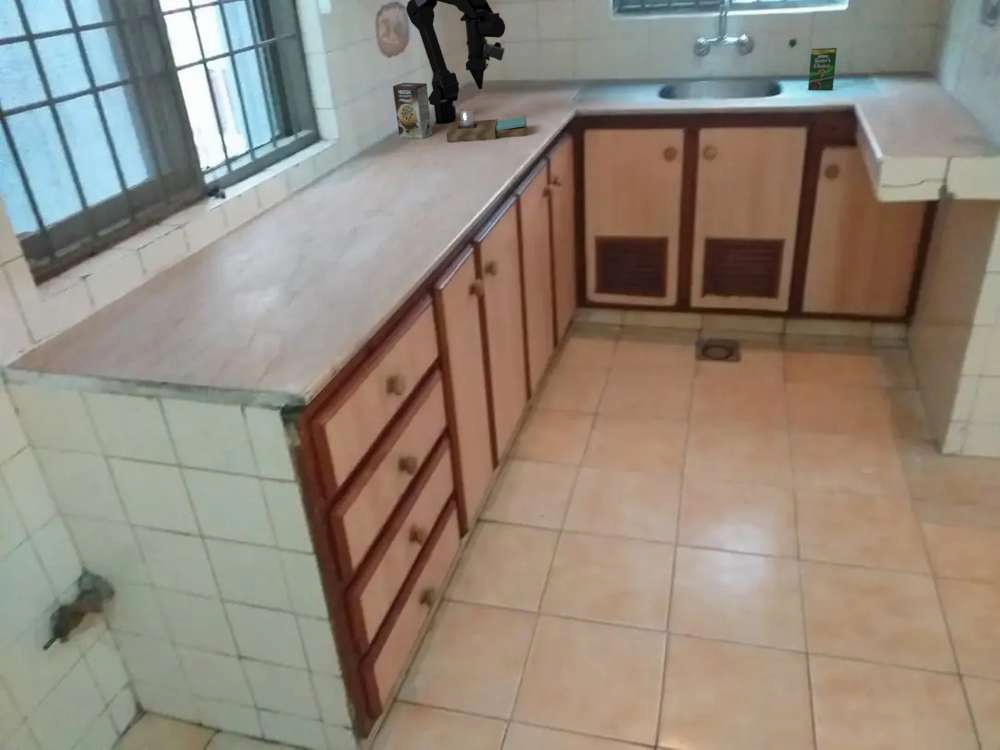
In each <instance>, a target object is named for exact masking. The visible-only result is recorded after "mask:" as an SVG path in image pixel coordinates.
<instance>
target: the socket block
mask: <svg viewBox="0 0 1000 750" xmlns="http://www.w3.org/2000/svg"><path fill="white" fill-rule="evenodd" d="M498 121H499V120H498V119H497V118H496V119H482V120H474V128H466V129H462V126H461V121H454V122H451V123H449V127H448V128H447V130H446V143H447V142H449V143H460V142H459V141H464V142H474V141H473V140H479V141H487V140H486V139H494V140H496V139H497V137H501V138H511V136H516V137H526V136H527V130H528V127H527V126H528V125H527V124H528V123H527V122H526V125H525V126H522V127H516V128H509V129H503V130H496V127H497V123H498ZM496 135H497V136H496Z"/></svg>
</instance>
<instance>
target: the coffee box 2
mask: <svg viewBox="0 0 1000 750" xmlns="http://www.w3.org/2000/svg"><path fill="white" fill-rule="evenodd" d="M836 58H837V47H824V48H821V47H820V48H811V50H810V59H809V60H810V62H809V73H808V75H809V76H808V83H807V84H808V87H807V90H808V91H824V90H825V91H833V89H834V83H835V82H834V81H835V70H836V60H837V59H836Z"/></svg>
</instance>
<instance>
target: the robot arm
mask: <svg viewBox="0 0 1000 750" xmlns="http://www.w3.org/2000/svg"><path fill="white" fill-rule="evenodd" d="M438 2H439V3H444V4H447V5H451V6H454V7H456V8H457V9H458V11H460V12H461V13H462V14H463V15H462V16H461V17H460V19H459V20H460V22H465V32H466V46H467V53H468V54H467V61H466V62H465V70H466V71H469V72H470V75H471V76H472V78H473V80H474V82H475V84H476V87H477V88H478V90H482V89H483V85H484V76H485V70H487V68H488V66H489V63H487V62H489V61H490V60H491V58H493V59H496V60H497V61H502V60H503V57H504V53H505V48H504V47H502V44H501V42H500V41H496V42H494V44H493V43H492V44H490V43H488V39H487V38H501V37H503V35H504V34H505V32H506V23H505V22H504V20H503V18H502V17H500V12H493V10H492V7H491V6H490V5H489V3H488V1H487V0H409V1H408V2H407V5H406V9H405V10H406V14H407V16H408V18H409V20H410V22H411V24H412V25H413V26H414V27H415V28H416V29H417V30H418V33H419V34H420V37H421V40H422V41H421V42H422V44H423V47H424V50H425V53H426V56H427V60H428V62H429V66H430V70H431V71H432V79H431V87H432V91H431V93H430V95H428V102H429V106H433V108H434V115H435V122H434V124H435V125H436V124H448V123H449V124H451V122H456V119H457V111H456V110H457V107H456V105H454V102H457V101H458V97H459V92H460V86H459V85H460V83H459V80H458V78H457V74H456V73H455V72H454V71H452V72H451V71H450V70H449V69H448V67H447V64H446V61H445V58H444V54H443V52H442V47H441V45H440V42H439V39H438V36H437V33H436V30H435V27H434V20H435V11H434V10H435V8H436V7H437V5H438Z"/></svg>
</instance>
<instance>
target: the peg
mask: <svg viewBox="0 0 1000 750" xmlns="http://www.w3.org/2000/svg"><path fill="white" fill-rule="evenodd" d="M459 113H460V122H461V126H462V129H466V128H474V121H475V120H474V110H473V108H462V109H460V110H459Z"/></svg>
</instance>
